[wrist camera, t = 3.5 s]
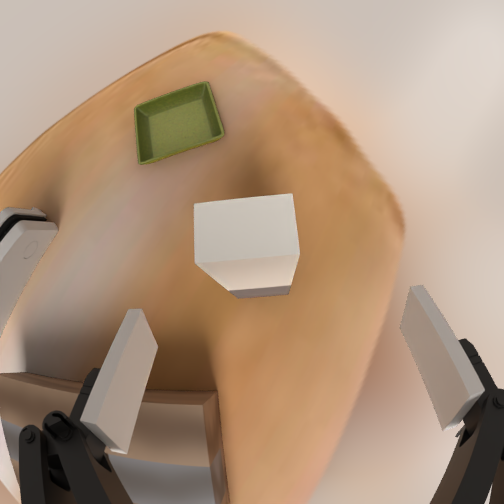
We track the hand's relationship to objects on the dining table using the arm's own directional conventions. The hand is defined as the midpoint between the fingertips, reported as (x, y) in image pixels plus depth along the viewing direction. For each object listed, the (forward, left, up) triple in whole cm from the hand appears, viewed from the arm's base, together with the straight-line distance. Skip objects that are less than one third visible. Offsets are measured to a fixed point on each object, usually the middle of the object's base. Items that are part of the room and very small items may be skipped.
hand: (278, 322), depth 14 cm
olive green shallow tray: (-22, +3, -10) cm, 24 cm away
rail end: (-4, +1, -10) cm, 10 cm away
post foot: (+2, -20, -10) cm, 22 cm away
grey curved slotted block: (-19, -22, -10) cm, 30 cm away
